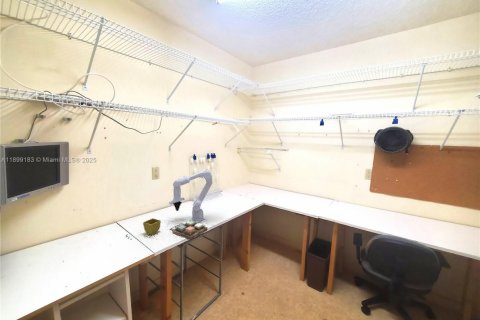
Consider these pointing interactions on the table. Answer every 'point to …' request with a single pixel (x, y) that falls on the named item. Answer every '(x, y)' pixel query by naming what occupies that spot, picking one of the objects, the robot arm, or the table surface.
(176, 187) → the robot arm
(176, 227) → the card
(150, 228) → the flower pot
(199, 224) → the key cream
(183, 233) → the keypad
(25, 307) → the table surface
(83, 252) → the table surface
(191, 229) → the key terracotta
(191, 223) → the key sage
